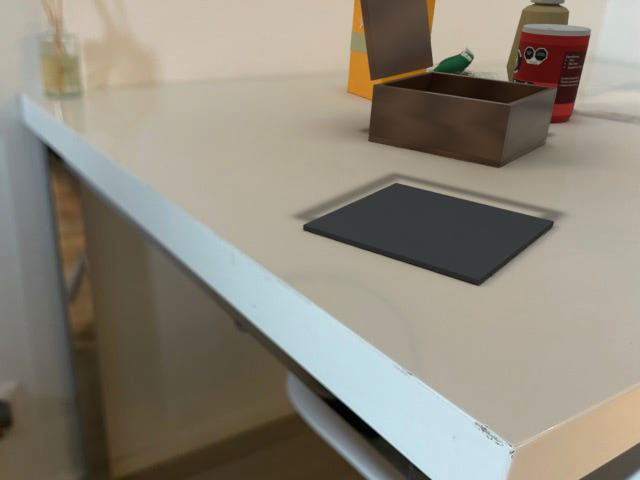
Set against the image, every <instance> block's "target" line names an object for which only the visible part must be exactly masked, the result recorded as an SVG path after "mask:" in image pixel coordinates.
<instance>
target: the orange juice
mask: <svg viewBox="0 0 640 480" xmlns="http://www.w3.org/2000/svg"><path fill="white" fill-rule="evenodd" d="M435 7H436V0H427V9H428V19H429V28H430V38H431V39H432V31H433V30H432V29H433V23H434V16H435ZM350 36H351V37H350V48H349V50H350V51H349V52H350V53H349V65H348V78H347V90H346V91H347V93H350V94H353V95H356V96H359V97H362V98H365V99H367V100H370V101H372V94H373V85H375V84H379V83H383V82H387V81H391V80H396V79H400V78H404V77H408V76H412V75H416V74H421V73H425V72H427V71H428V70H427V69H428V68H425V69H421V70H417V71H412V72H408V73H404V74H400V75H395V76H391V77H387V78H382V79H378V80H373V81H371V79H370V71H369V64H368V56H367V49H366V41H365V34H364V26H363V18H362V11H361V3H360V0H354V2H353V14H352V28H351V35H350Z"/></svg>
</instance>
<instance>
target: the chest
mask: <svg viewBox="0 0 640 480" xmlns="http://www.w3.org/2000/svg"><path fill="white" fill-rule="evenodd" d="M433 71H434V70H429V71H426V72H425V73H421V74H416V75H412V76H408V77H404V78H400V79H396V80H391V81H387V82H383V83H379V84H375V85H373V94H372V100H371V105H370V106H371V108H370V118H369V126H368V138H367V141H368V142H373V143H378V144H382V145H386V146H387V145H388V146H392V147H398V148H404V149H407V150H412V151H415V152H422V153H427V154H431V155H435V156H440V157H445V158H450V159H455V160H460V161H465V162H470V163H475V164H479V165H484V166H489V167H492V168H493V167H494V168H498V169H500V168H502V167H503V166H505V165H507V164H509V163H511V162H513V161H515V160H516V159H518V158H520V157H522V156H524V155H526V154H528V153H529V152H532V151H534V150H536V149H537V148H539V147H541V146H543V145H545V144H546V143H547V138H548V134H549V130H550V129H549V128H550V125H551V122H550V120H551V116H552V111H553V107H554V102H555V97H556V93H557V88H556V87H549V86H541V85H533V84H526V83H518V82H510V81H508V80H501V79H496V78H495V79H494V78H487V77H478V76H473V75H465V74H464V75H463V74H461V75H457V74H449V73H441V72H433Z"/></svg>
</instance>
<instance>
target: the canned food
mask: <svg viewBox="0 0 640 480" xmlns="http://www.w3.org/2000/svg"><path fill="white" fill-rule="evenodd" d="M591 32H592V29H591V28H590V27H587V26H579V25H571V24H568V25H558V24H527V25H524V26H523V29H522V32H521V38H520V42H519V47H518V53H517V58H516V64H515V69H514V75H513V80H512V82H518V83H526V84H533V85H541V86H549V87H556V88H557V93H556V97H555V102H554V107H553V111H552V116H551V120H550V123H563V122H566V121H569V120H570V118H571V116H572V115H573V112H574V108H575V103H576V99H577V96H578V91H579V86H580V82H581V79H582V75H583V70H584V66H585V62H586V58H587V53H588V48H589V45H590V39H591V36H592V35H591V34H592V33H591Z"/></svg>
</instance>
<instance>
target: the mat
mask: <svg viewBox="0 0 640 480" xmlns="http://www.w3.org/2000/svg"><path fill="white" fill-rule="evenodd" d="M554 223H555V220H550V219H547V218H543V217H538V216H535V215H532V214H531V215H530V214H526V213H523V212H518V211H514V210H509V209H506V208H501V207H498V206H494V205H493V206H492V205H489V204H485V203H481V202H477V201H473V200H469V199H465V198H461V197H456V196H452V195H449V194H444V193H441V192H435V191H431V190H428V189H424V188H419V187H415V186H413V185H412V186H411V185H408V184H403V183H400V182H394V183H392V184H390V185H388V186H386V187H383V188H381V189H379V190H376V191H374V192H372V193H371V194H368V195H366V196H363V197H361V198H359V199H357V200H355V201H352V202H350V203H348V204H346V205H344V206H342V207H339V208H337V209H334V210H333V211H330V212H328V213H326V214H324V215H322V216H319V217H317V218H315V219H313V220H310V221H309V222H306V223H304V224H303V225H302V230H304V231H307V232H311V233H313V234H317V235H319V236H323V237H325V238H329V239H333V240H335V241H340V242H341V243H345V244H347V245H350V246H354V247H357V248H360V249H363V250H367V251H370V252H373V253H376V254H380V255H383V256H386V257H389V258H392V259H395V260H398V261H401V262H404V263H408V264H411V265H414V266H418V267H420V268H424V269H427V270H429V271H433V272H435V273H439V274H442V275H445V276H449V277H452V278H454V279H457V280H461V281H464V282H467V283H470V284H473V285H476V286H479V285H481V284H483V282H484V281H486V280H487V279H488V278H489V277H491V276H492V275H494V274H495V273H496V272H498V270H499V269H501V268H502V267H503V266H505V265H506V264H507V263H508V262H509V261H511V260H513V258H514V257H516V256H517V255H518V254H520V253H521V252H523V251H524V250H525V249H526V248H527V247H528V246H529V245H531V244H532V243H533V242H535V241H536V240H537V239H539V238H540V237H541V236H542V235H543V234H545V233H546V232H547V231H548V230H550V229H551V228H552V227H553V226H554Z"/></svg>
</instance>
